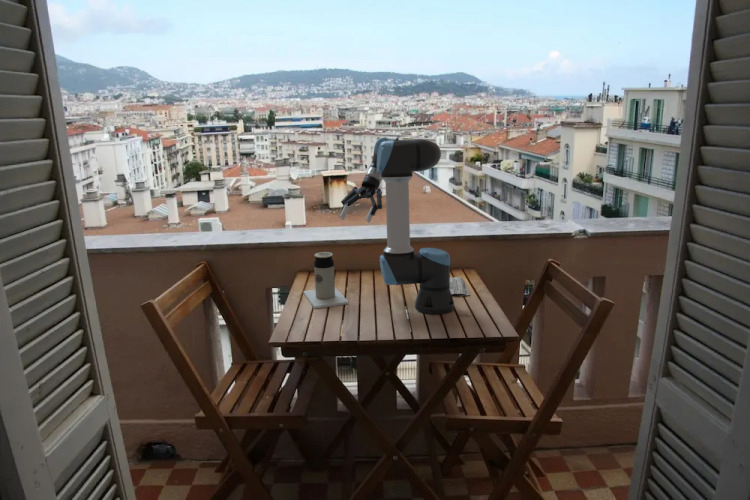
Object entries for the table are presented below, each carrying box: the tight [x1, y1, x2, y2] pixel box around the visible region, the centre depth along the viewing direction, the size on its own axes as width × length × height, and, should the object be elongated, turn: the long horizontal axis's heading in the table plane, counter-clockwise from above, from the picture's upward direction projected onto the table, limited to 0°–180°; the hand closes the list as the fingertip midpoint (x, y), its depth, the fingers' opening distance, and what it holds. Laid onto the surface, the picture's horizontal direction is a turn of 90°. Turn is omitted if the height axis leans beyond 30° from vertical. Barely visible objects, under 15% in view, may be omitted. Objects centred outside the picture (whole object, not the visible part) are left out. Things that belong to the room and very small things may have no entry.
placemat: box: [303, 286, 349, 310], centre depth 229 cm, size 20×14×1 cm
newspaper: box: [450, 276, 471, 298], centre depth 239 cm, size 23×12×2 cm, turn 175°
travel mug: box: [313, 251, 336, 299], centre depth 227 cm, size 8×8×18 cm
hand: (354, 219), depth 238 cm, fingers open, 13 cm apart
